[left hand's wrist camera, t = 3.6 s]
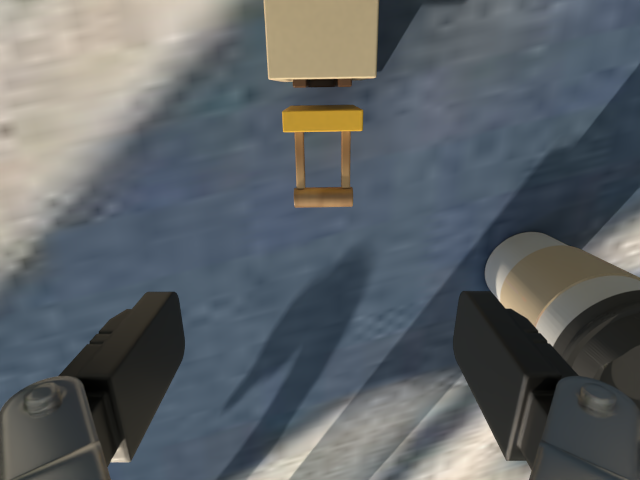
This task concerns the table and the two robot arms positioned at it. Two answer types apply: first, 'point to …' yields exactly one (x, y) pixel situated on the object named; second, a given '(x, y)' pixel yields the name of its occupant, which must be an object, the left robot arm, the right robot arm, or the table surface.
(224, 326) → the table surface
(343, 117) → the drawer
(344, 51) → the beige plug-in box
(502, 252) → the coffee cup
